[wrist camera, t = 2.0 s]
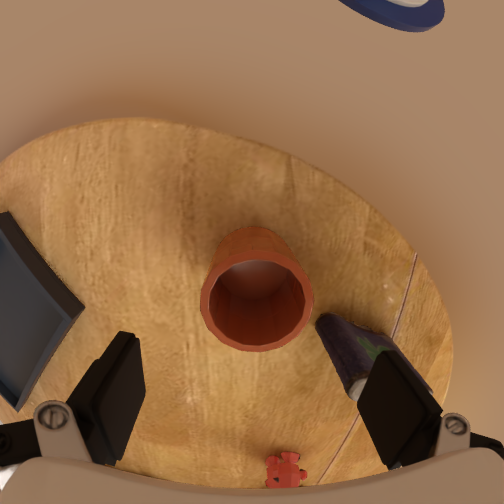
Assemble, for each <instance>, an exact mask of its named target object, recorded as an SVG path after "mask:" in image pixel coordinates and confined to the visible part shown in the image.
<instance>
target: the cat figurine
mask: <svg viewBox="0 0 504 504" xmlns="http://www.w3.org/2000/svg"><path fill="white" fill-rule="evenodd" d="M281 456H282V458H283V460H284V461H285V463H280V460H279V458H278V457H276V456H274V455H273V456H269V457H268V458H267V459H266V463H265V464H266V465H267V466H268V468H267V478H268V479H267V480H266V481H265V483H266V486H268V487H269V488H271V489H273V488H293V487H298V486H299V482H300V478H301V479H302V480H303V481H304V480H305V479H306V478H307V472H306V471H305V470H302V469H300V470H299V467H298V465H296V464H294V463H296V462H297V461H298V460H299V459H300V454H297V453H293V452H283V453H281Z"/></svg>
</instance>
